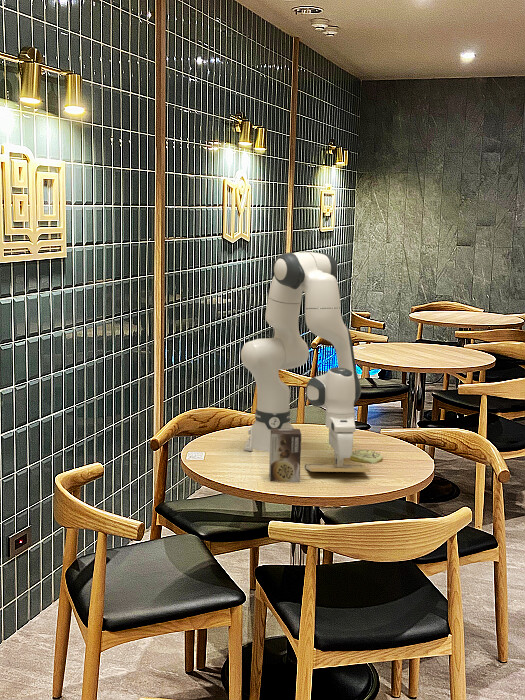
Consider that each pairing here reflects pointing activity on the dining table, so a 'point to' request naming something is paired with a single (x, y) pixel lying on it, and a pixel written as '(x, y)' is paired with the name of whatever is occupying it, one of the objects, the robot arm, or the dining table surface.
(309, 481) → the dining table surface
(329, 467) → the flap
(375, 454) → the decorated donut
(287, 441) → the coffee box
